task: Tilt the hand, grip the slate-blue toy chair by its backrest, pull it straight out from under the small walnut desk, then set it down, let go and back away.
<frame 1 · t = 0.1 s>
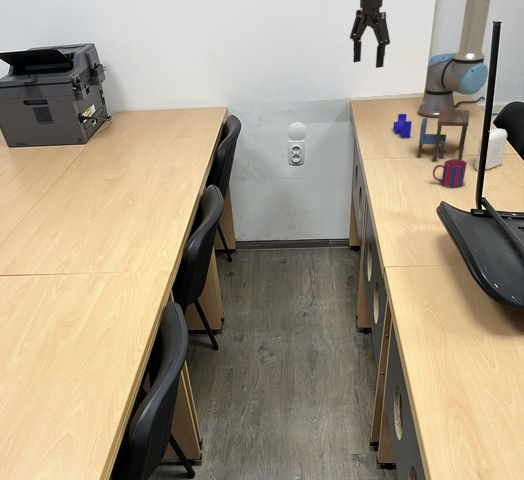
hand: (367, 64, 189), 28 cm above the table, tool pointing down, fingers open, 13 cm apart
chair: (430, 154, 193), on the table
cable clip: (401, 134, 213), on the table
mug: (446, 184, 171), on the table
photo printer: (487, 167, 180), on the table
desk: (447, 154, 191), on the table
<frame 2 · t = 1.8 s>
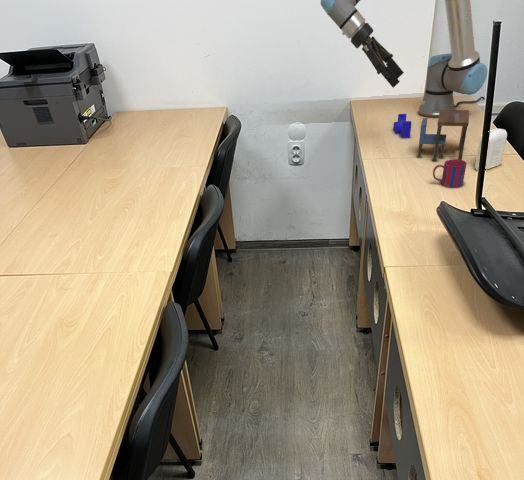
hand: (398, 80, 181), 25 cm above the table, tool tilted 45°, fingers open, 13 cm apart
nothing on the table moved.
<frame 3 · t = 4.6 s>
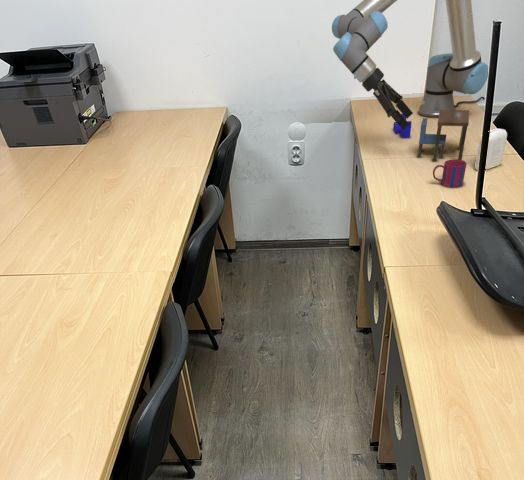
hand: (408, 121, 188), 11 cm above the table, tool tilted 45°, fingers open, 13 cm apart
nothing on the table moved.
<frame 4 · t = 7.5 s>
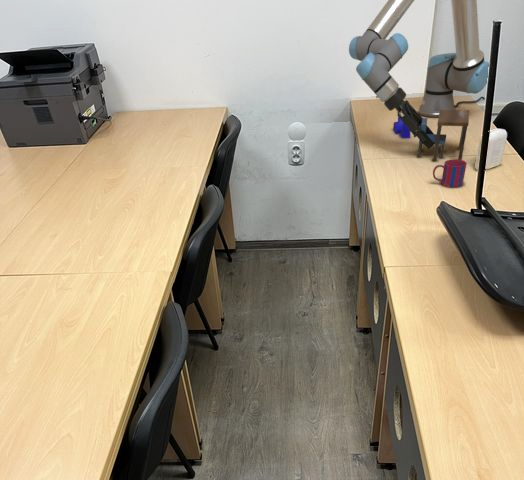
hand: (432, 142, 190), 4 cm above the table, tool tilted 45°, fingers closed on chair, 8 cm apart
chair: (430, 154, 193), on the table, touching gripper
everything else where it was.
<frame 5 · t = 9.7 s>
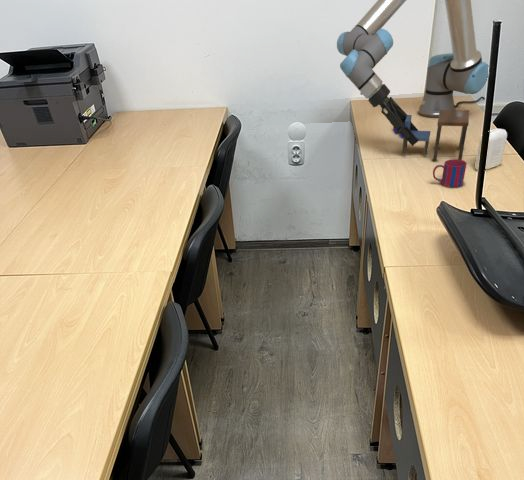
hand: (416, 139, 191), 5 cm above the table, tool tilted 45°, fingers closed on chair, 8 cm apart
chair: (415, 150, 193), point 1 cm above the table, touching gripper
everything else where it was.
when the fingers open (4 cm above the table, at t = 12.1 s): chair stays where it is, on the table.
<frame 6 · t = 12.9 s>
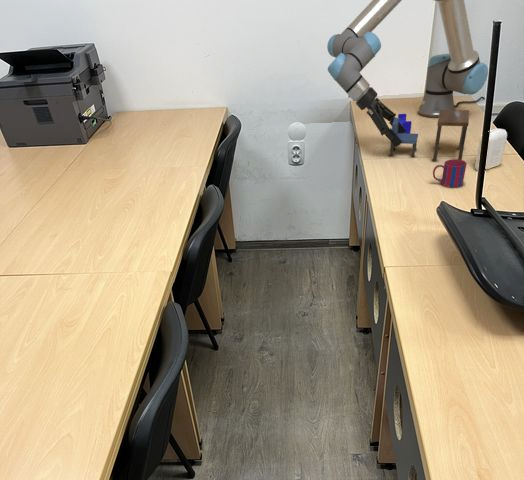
hand: (401, 138, 192), 5 cm above the table, tool tilted 45°, fingers open, 13 cm apart
chair: (402, 153, 195), on the table
everything else where it was.
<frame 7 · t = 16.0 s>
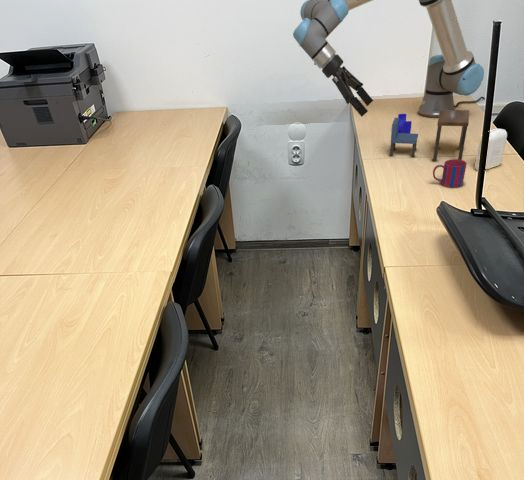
hand: (367, 108, 190), 15 cm above the table, tool tilted 45°, fingers open, 13 cm apart
nothing on the table moved.
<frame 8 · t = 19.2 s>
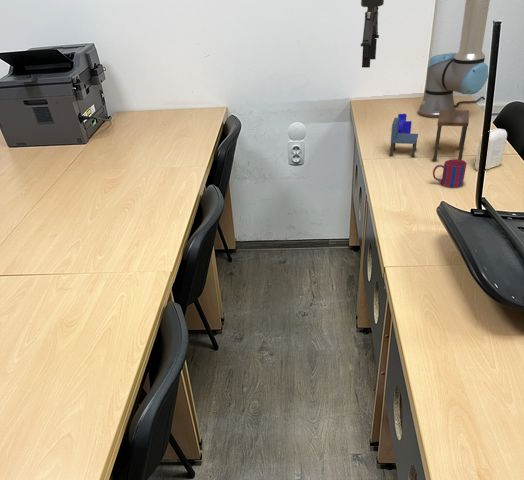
hand: (368, 63, 187), 29 cm above the table, tool pointing down, fingers open, 13 cm apart
nothing on the table moved.
at the end: chair inside the target area (0.1 cm from its centre), on the table; chair tilted 0°; the gripper is holding nothing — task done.
